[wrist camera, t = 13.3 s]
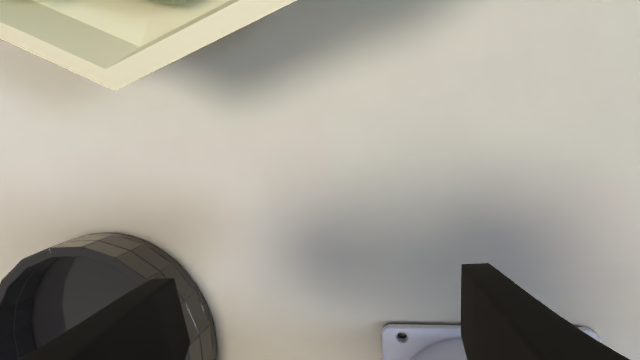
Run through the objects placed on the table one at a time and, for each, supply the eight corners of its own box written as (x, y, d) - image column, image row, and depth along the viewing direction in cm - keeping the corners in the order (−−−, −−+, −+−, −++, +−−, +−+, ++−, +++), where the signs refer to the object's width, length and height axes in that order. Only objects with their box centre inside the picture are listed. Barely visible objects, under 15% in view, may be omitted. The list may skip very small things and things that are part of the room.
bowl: (203, 229, 22) (174, 244, 19) (228, 437, 23) (204, 478, 21) (17, 235, 25) (-32, 249, 22) (50, 422, 26) (8, 457, 23)
